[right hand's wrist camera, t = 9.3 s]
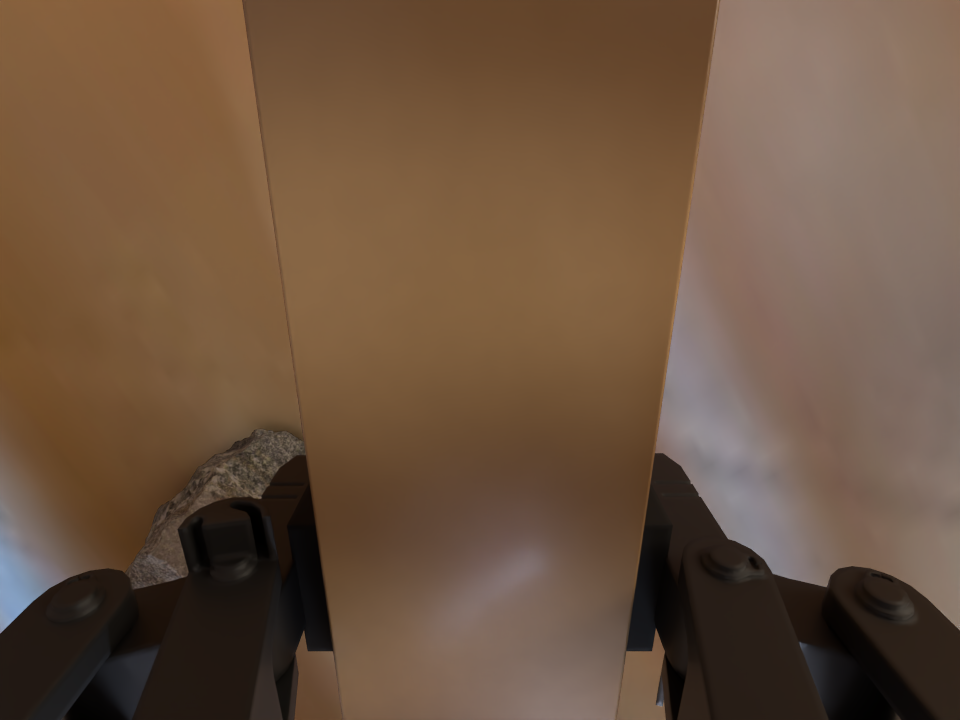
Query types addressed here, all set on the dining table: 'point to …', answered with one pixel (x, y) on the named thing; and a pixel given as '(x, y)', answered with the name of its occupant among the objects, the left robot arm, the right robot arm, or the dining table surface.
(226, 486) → the rock
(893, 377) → the dining table surface
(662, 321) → the bar
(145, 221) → the dining table surface
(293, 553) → the right robot arm
